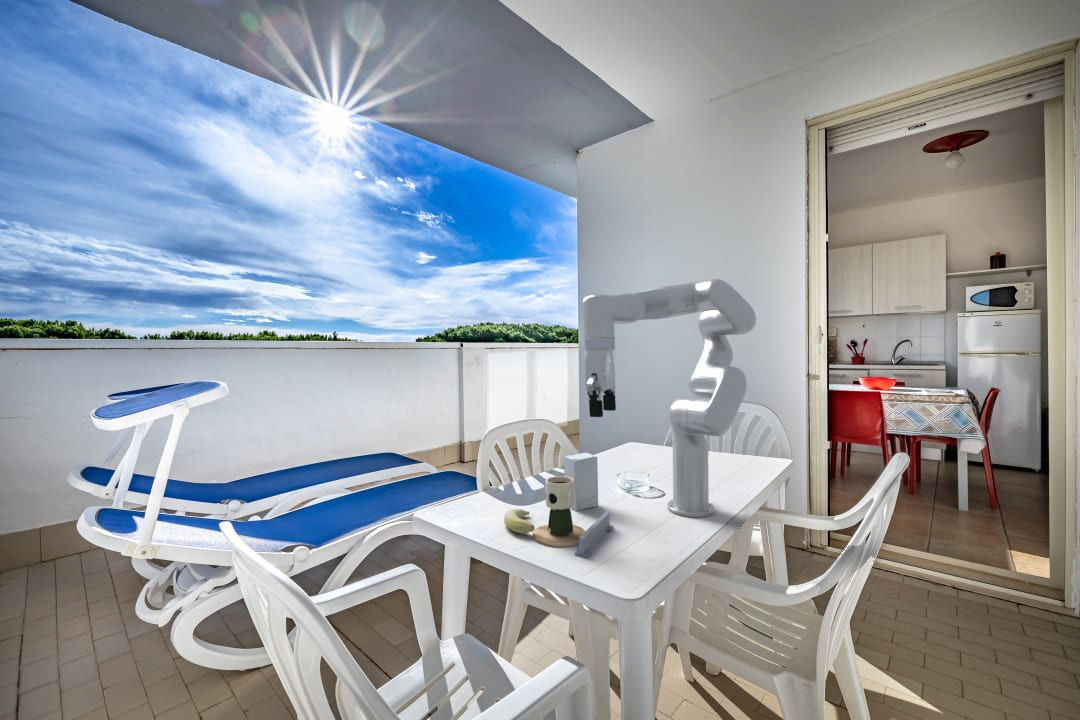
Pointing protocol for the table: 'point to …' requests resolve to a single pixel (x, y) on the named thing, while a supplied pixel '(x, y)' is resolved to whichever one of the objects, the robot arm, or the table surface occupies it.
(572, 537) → the coaster
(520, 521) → the fruit
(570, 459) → the skincare box
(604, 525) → the grey cabinet handle
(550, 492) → the character mug
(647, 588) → the table surface
